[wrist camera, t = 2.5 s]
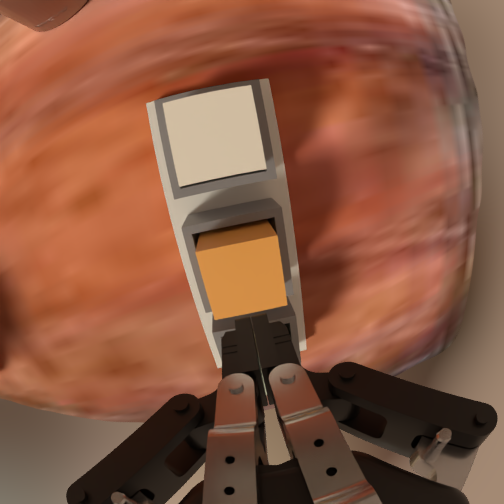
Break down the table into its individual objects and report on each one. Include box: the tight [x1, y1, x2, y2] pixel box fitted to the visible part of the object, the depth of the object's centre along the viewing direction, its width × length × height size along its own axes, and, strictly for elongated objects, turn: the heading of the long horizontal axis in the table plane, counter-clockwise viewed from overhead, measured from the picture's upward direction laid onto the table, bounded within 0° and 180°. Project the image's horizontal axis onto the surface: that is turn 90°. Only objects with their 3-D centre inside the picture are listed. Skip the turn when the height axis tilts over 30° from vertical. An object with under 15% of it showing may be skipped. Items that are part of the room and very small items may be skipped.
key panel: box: [146, 79, 307, 368], centre depth 22 cm, size 27×10×6 cm, turn 10°
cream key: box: [163, 85, 267, 187], centre depth 16 cm, size 5×5×5 cm
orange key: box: [195, 219, 287, 320], centre depth 20 cm, size 5×5×5 cm
